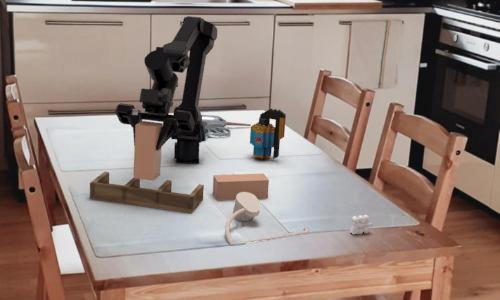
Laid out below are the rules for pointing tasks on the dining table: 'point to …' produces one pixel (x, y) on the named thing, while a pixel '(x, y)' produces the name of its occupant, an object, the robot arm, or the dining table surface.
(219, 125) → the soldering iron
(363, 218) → the white beaded block
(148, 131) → the clay bar
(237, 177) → the clay bar
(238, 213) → the toilet paper hanger
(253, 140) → the toy
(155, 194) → the tray
